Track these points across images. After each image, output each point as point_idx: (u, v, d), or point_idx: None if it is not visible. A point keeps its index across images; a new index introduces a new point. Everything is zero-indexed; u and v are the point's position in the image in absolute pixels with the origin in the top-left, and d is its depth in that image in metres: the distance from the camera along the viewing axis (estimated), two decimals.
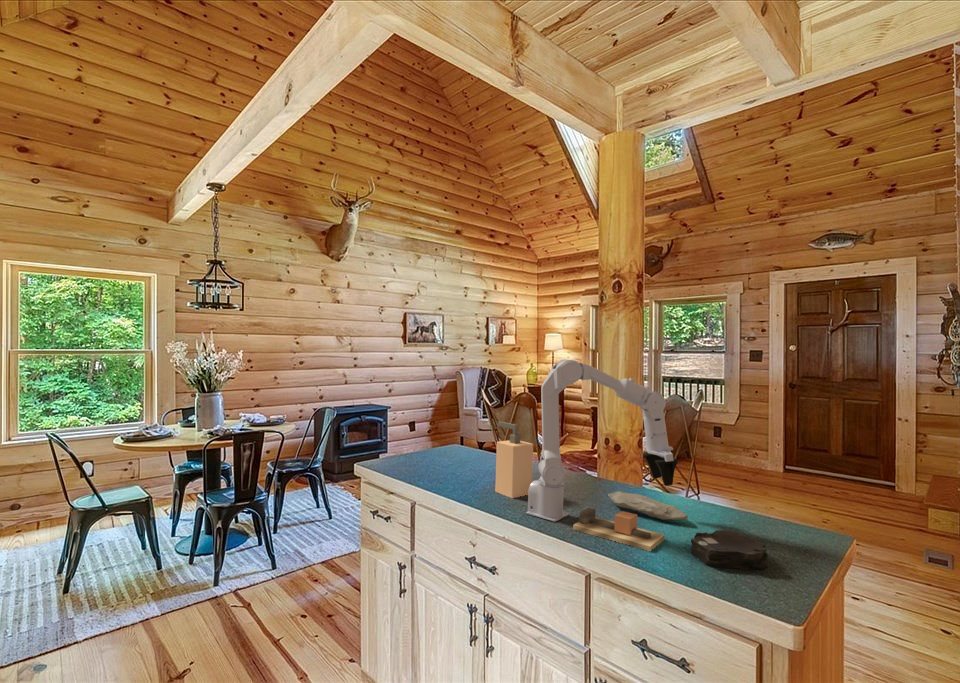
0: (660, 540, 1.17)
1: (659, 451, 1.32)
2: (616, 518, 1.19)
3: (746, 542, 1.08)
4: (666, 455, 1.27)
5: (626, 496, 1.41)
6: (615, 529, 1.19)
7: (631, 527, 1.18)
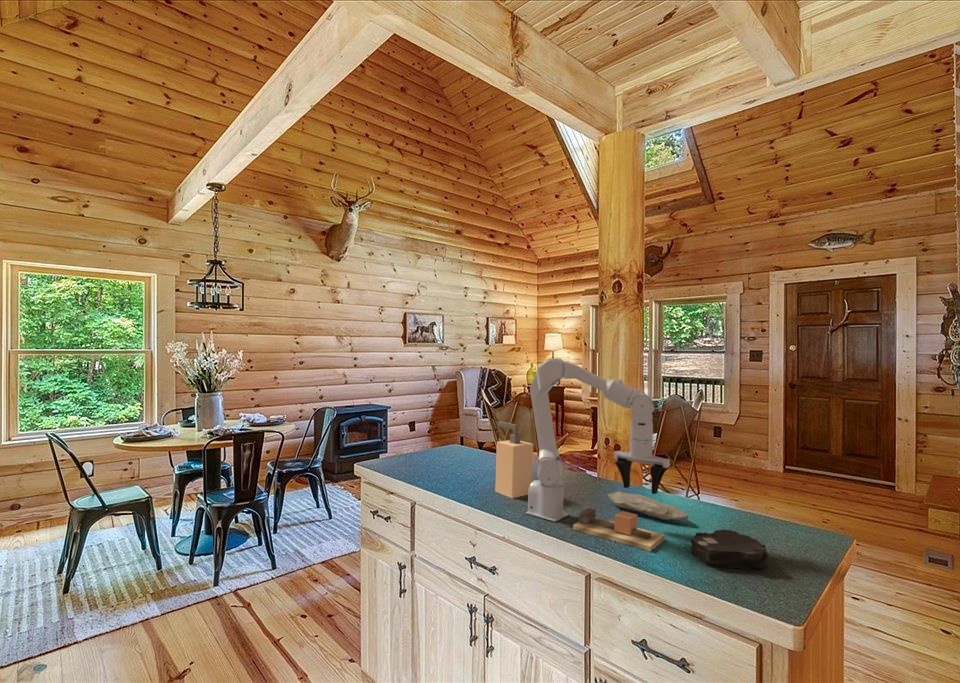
0: (660, 540, 1.17)
1: (650, 457, 1.25)
2: (616, 518, 1.19)
3: (746, 542, 1.08)
4: (667, 461, 1.22)
5: (626, 496, 1.41)
6: (615, 529, 1.19)
7: (631, 527, 1.18)
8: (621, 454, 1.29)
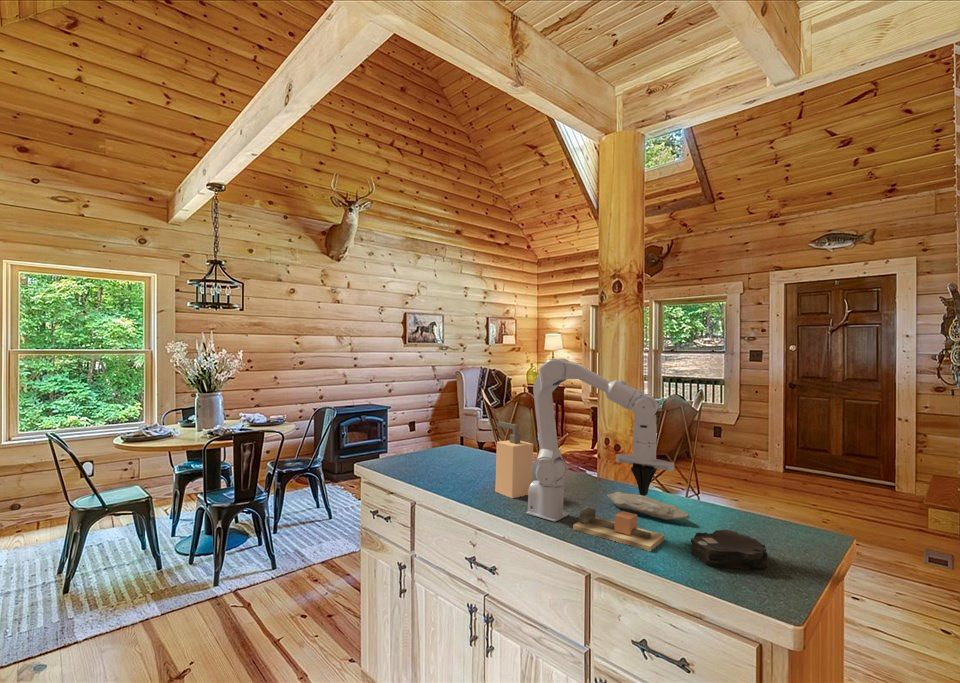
0: (660, 540, 1.17)
1: (654, 461, 1.21)
2: (616, 518, 1.19)
3: (746, 542, 1.08)
4: (672, 464, 1.18)
5: (626, 496, 1.41)
6: (615, 529, 1.19)
7: (631, 527, 1.18)
8: (624, 457, 1.25)
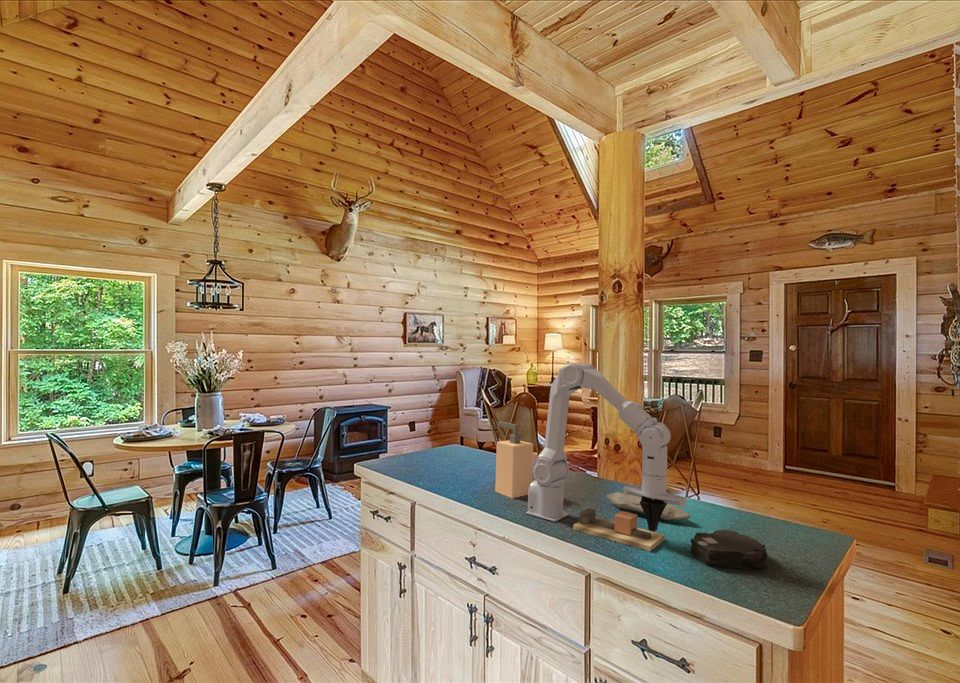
0: (660, 540, 1.17)
1: (664, 495, 1.14)
2: (616, 518, 1.19)
3: (746, 542, 1.08)
4: (683, 500, 1.11)
5: (627, 497, 1.41)
6: (615, 529, 1.19)
7: (631, 527, 1.18)
8: (632, 490, 1.18)
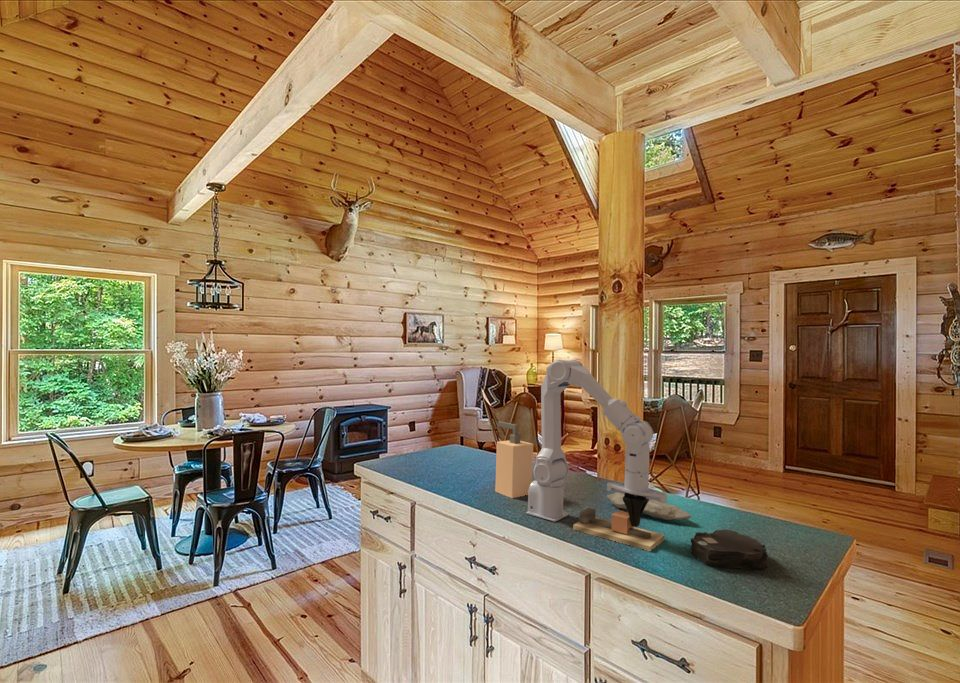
0: (660, 540, 1.17)
1: (646, 491, 1.16)
2: (613, 517, 1.20)
3: (746, 542, 1.08)
4: (664, 496, 1.14)
5: None
6: (612, 528, 1.20)
7: (628, 526, 1.18)
8: (615, 486, 1.21)
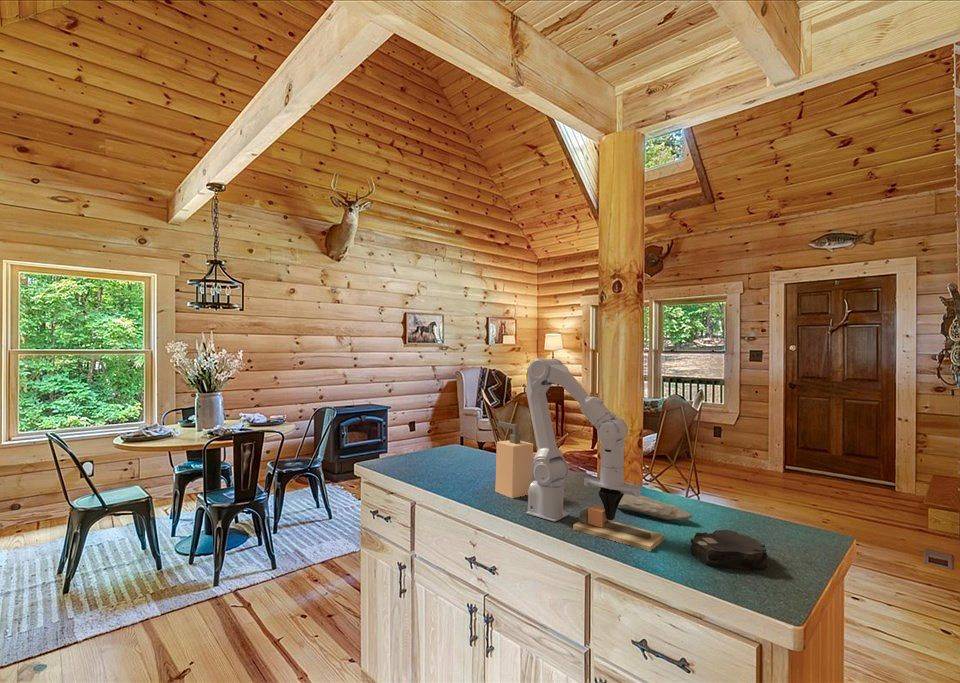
0: (660, 540, 1.17)
1: (620, 486, 1.21)
2: (589, 511, 1.24)
3: (746, 542, 1.08)
4: (637, 490, 1.18)
5: (627, 497, 1.40)
6: (588, 522, 1.24)
7: (603, 520, 1.22)
8: (591, 481, 1.25)
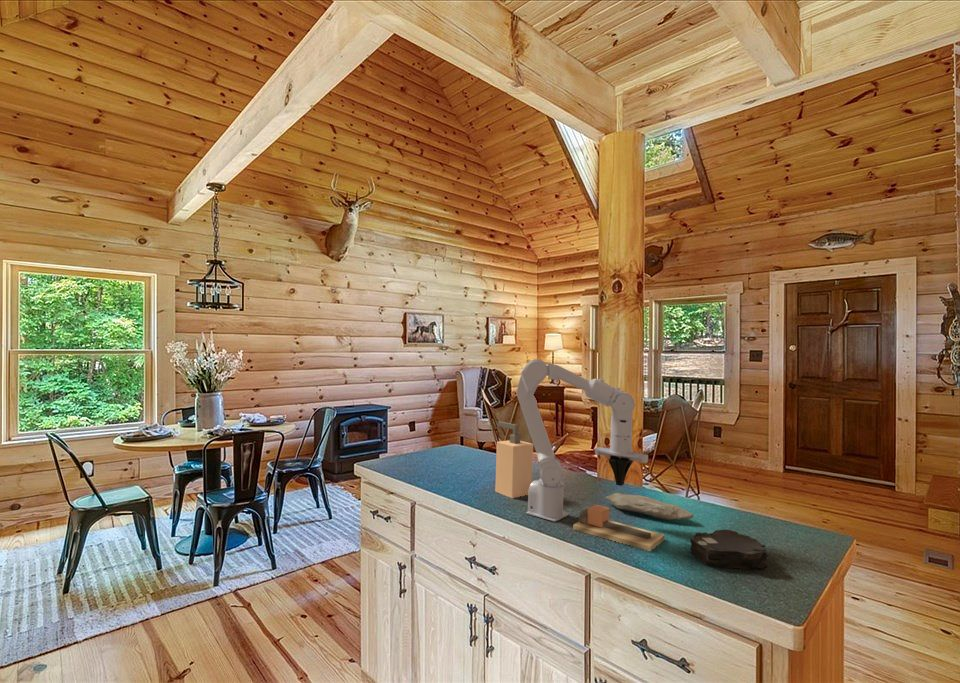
0: (660, 540, 1.17)
1: (629, 453, 1.29)
2: (589, 511, 1.24)
3: (746, 542, 1.08)
4: (645, 456, 1.27)
5: (628, 498, 1.40)
6: (588, 522, 1.24)
7: (603, 520, 1.23)
8: (602, 450, 1.34)
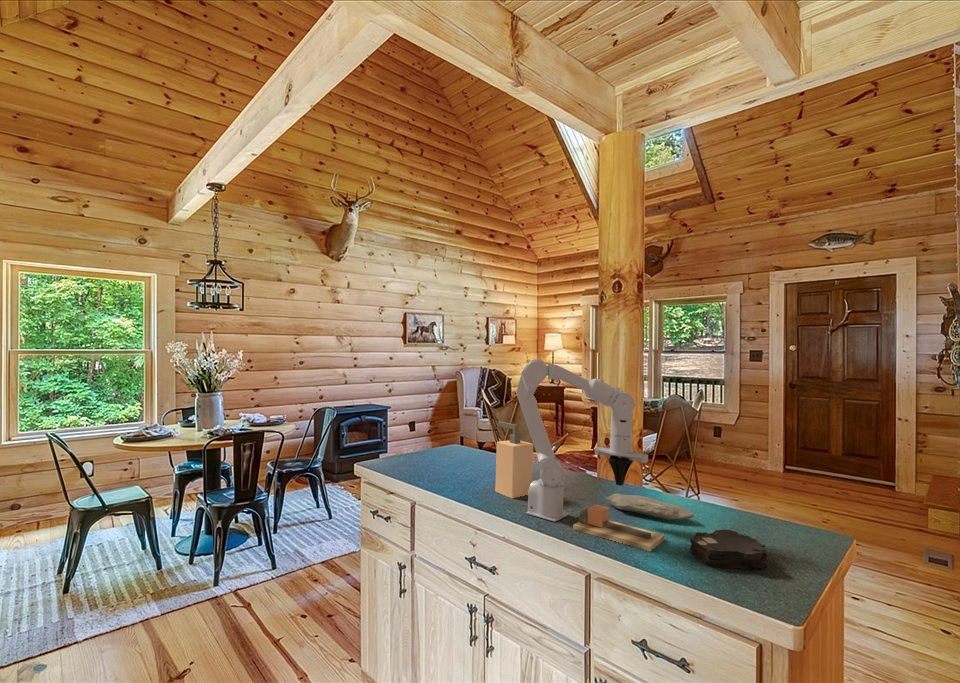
0: (660, 540, 1.17)
1: (629, 453, 1.30)
2: (589, 511, 1.24)
3: (746, 542, 1.08)
4: (645, 456, 1.27)
5: (628, 498, 1.39)
6: (588, 522, 1.24)
7: (603, 520, 1.23)
8: (602, 450, 1.34)
